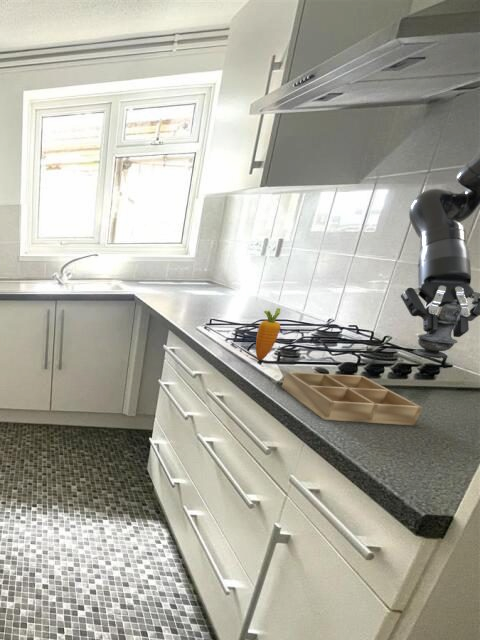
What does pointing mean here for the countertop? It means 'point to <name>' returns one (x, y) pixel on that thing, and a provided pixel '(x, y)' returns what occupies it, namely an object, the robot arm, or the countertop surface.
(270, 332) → the carrot
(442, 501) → the countertop surface
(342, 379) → the wooden compartment tray
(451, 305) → the grey tall piece
